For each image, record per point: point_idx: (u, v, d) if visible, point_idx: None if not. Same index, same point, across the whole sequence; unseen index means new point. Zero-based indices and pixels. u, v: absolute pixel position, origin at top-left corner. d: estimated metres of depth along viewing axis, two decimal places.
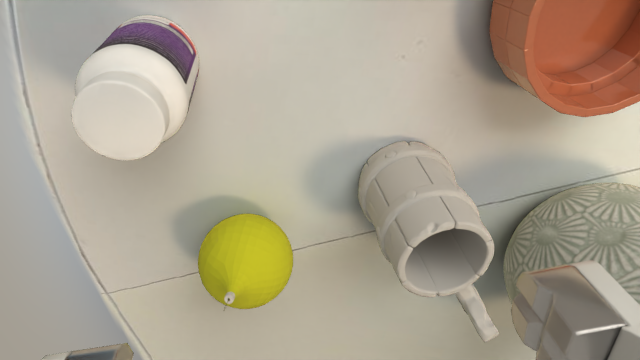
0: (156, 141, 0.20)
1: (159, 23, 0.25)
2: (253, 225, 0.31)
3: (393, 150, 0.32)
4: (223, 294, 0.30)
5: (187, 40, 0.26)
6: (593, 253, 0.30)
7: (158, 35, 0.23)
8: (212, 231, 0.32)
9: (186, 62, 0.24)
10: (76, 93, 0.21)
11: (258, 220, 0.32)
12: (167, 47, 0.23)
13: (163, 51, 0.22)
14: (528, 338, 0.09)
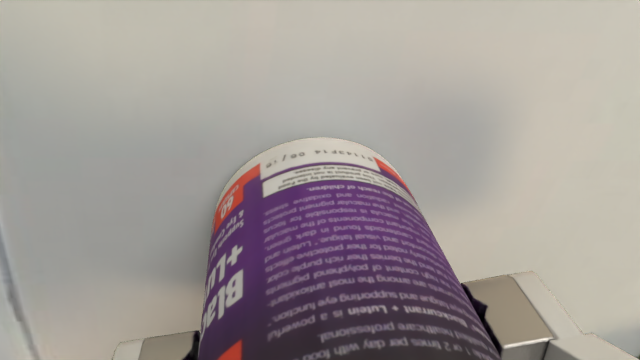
0: None
1: (367, 175, 0.09)
2: None
3: None
4: None
5: (414, 200, 0.10)
6: None
7: (408, 241, 0.08)
8: None
9: None
10: None
11: None
12: (458, 298, 0.07)
13: (477, 340, 0.06)
14: None
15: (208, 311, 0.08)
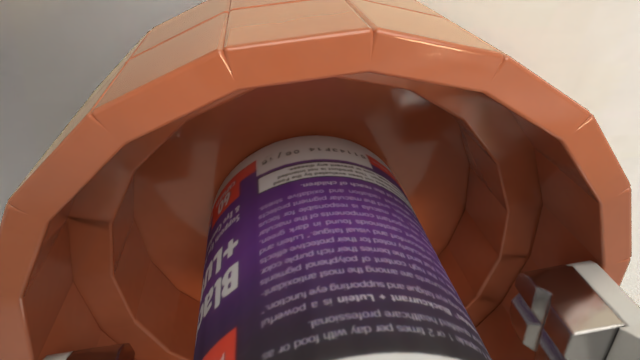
0: None
1: (359, 172, 0.10)
2: None
3: None
4: None
5: (406, 196, 0.11)
6: None
7: (397, 235, 0.08)
8: None
9: None
10: None
11: None
12: (444, 288, 0.07)
13: (461, 328, 0.07)
14: (526, 338, 0.09)
15: (205, 302, 0.08)
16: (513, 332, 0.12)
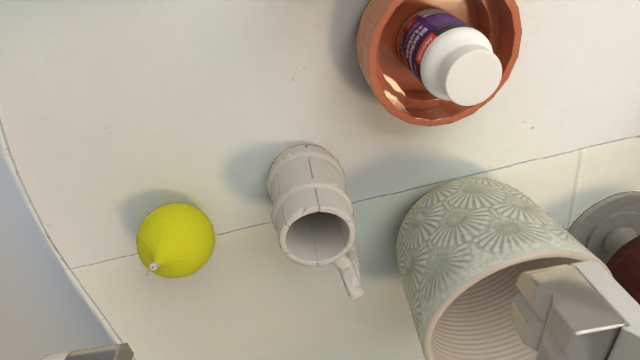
0: (491, 92, 0.30)
1: (449, 14, 0.35)
2: (178, 211, 0.40)
3: (291, 152, 0.41)
4: None
5: None
6: (442, 232, 0.39)
7: None
8: (147, 216, 0.40)
9: None
10: (428, 60, 0.31)
11: (184, 208, 0.40)
12: None
13: None
14: (528, 338, 0.09)
15: (415, 39, 0.33)
16: None
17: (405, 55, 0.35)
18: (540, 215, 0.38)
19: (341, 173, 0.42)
